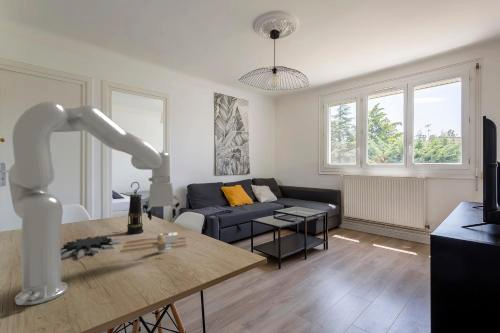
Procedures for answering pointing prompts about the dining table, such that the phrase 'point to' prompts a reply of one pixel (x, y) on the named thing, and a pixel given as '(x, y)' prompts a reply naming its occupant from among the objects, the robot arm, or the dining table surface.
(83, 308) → the dining table surface
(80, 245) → the decorative piece
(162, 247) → the awl
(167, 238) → the block
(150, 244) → the floor panel
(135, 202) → the lantern
